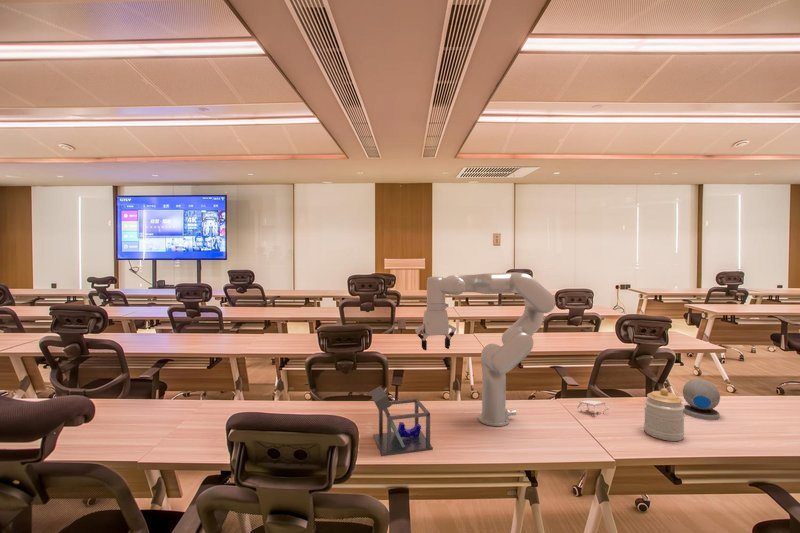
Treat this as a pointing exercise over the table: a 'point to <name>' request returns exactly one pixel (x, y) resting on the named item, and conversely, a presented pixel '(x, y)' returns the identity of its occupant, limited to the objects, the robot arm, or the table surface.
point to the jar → (664, 415)
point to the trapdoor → (384, 408)
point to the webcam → (701, 399)
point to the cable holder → (408, 430)
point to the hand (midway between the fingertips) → (435, 349)
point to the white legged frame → (593, 403)
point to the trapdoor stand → (392, 446)
